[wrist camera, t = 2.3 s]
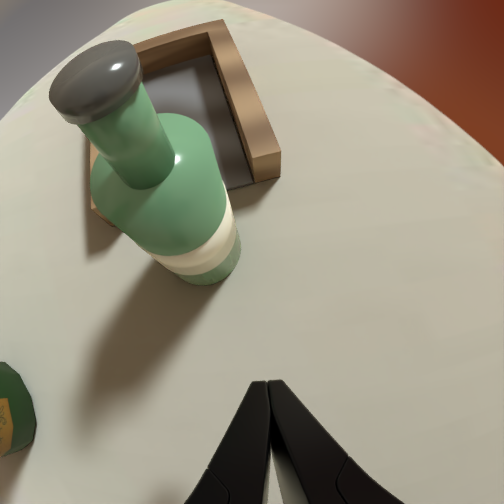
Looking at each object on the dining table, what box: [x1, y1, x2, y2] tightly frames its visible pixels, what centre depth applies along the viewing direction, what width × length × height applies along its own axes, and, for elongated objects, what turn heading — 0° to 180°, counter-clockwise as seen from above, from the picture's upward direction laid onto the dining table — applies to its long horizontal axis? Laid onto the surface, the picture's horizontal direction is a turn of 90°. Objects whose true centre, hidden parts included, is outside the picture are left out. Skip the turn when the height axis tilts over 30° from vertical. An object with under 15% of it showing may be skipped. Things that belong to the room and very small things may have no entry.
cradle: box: [90, 19, 281, 226], centre depth 25 cm, size 19×14×4 cm
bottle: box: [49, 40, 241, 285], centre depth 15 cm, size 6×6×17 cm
